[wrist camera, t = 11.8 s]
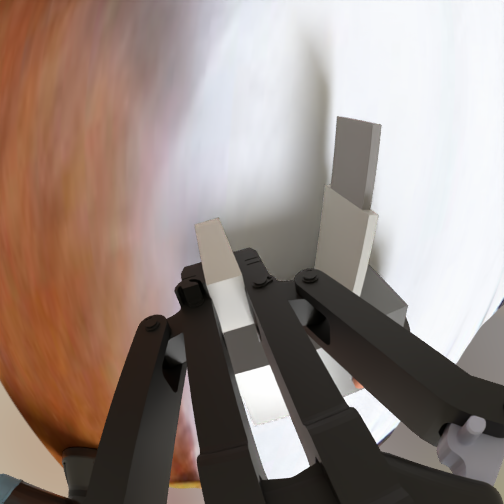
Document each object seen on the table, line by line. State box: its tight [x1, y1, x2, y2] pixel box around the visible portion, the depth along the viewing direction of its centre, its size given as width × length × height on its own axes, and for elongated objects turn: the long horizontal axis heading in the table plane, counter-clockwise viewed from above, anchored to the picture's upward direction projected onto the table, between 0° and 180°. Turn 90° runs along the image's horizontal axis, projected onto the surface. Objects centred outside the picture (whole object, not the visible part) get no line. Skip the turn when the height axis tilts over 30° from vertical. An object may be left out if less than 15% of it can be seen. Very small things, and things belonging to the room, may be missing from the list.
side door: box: [314, 116, 381, 297], centre depth 23 cm, size 16×1×8 cm, turn 178°
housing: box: [223, 264, 410, 426], centre depth 29 cm, size 19×11×9 cm, turn 100°
